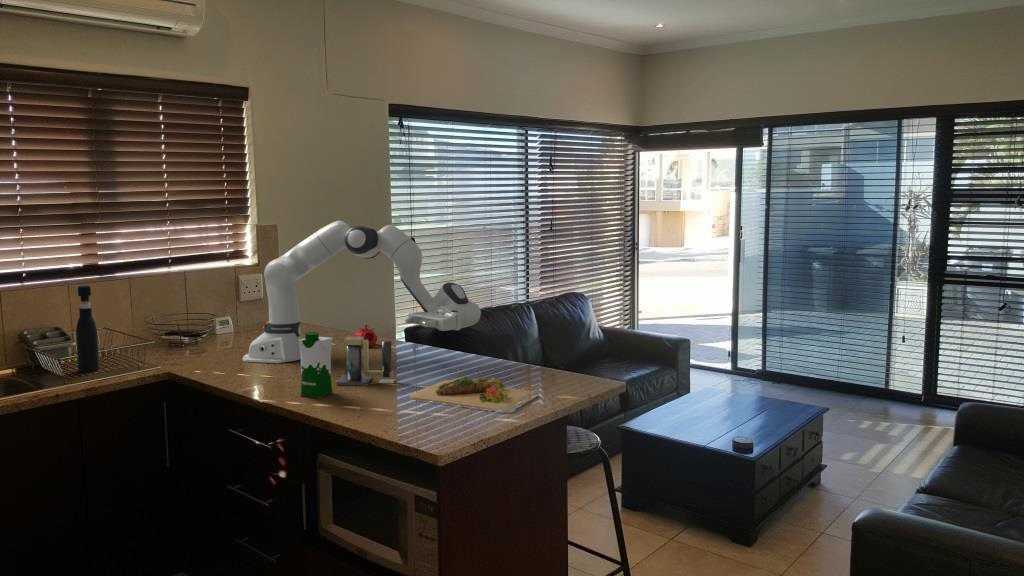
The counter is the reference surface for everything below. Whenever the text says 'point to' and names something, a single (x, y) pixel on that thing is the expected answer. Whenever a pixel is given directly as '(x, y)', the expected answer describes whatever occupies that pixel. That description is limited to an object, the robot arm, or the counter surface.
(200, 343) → the counter surface
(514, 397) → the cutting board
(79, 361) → the dark blue bottle
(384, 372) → the lever
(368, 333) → the pomegranate
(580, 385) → the counter surface
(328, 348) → the milk carton
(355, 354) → the post
